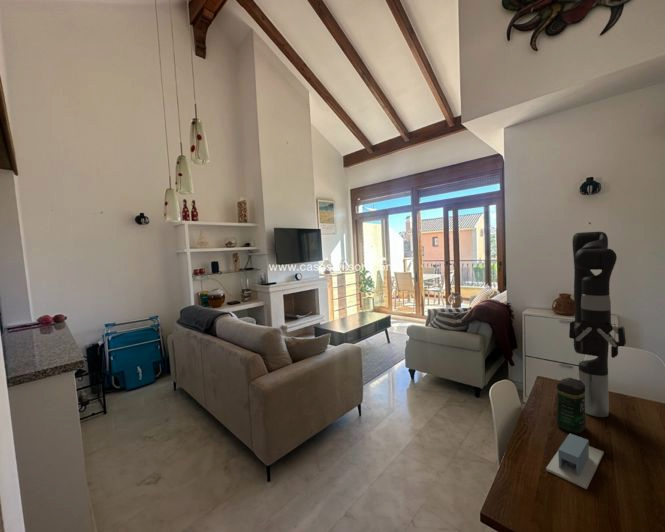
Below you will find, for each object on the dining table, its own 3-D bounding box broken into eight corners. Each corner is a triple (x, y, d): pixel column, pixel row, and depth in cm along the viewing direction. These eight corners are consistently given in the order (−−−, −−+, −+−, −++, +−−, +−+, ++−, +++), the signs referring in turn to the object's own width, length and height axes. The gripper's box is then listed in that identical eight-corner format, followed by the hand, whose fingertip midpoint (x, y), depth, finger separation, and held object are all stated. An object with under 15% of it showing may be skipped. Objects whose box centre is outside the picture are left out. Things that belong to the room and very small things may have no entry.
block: (569, 450, 101) (569, 433, 101) (588, 457, 97) (588, 440, 97) (558, 467, 94) (558, 449, 94) (578, 476, 90) (578, 457, 90)
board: (566, 439, 107) (566, 431, 107) (603, 453, 100) (603, 444, 99) (546, 470, 94) (545, 460, 94) (586, 489, 86) (586, 478, 86)
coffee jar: (578, 437, 109) (577, 388, 108) (553, 426, 115) (552, 380, 114) (589, 427, 113) (588, 380, 112) (564, 418, 120) (564, 373, 119)
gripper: (626, 307, 97) (627, 356, 98) (572, 303, 108) (573, 346, 109) (622, 312, 92) (623, 362, 93) (566, 306, 104) (567, 352, 105)
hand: (596, 354), depth 101 cm, fingers open, 8 cm apart
